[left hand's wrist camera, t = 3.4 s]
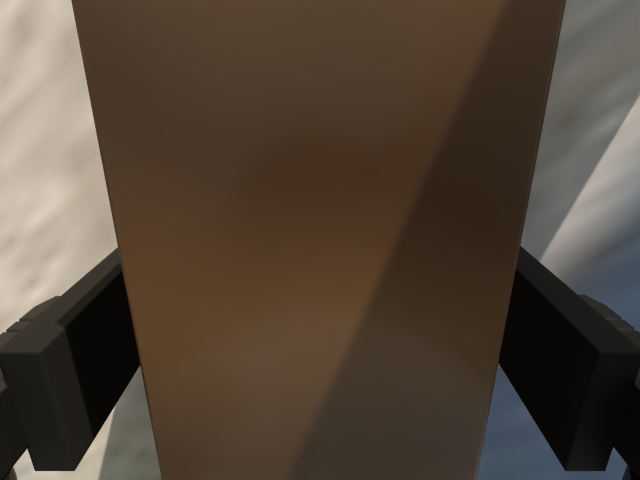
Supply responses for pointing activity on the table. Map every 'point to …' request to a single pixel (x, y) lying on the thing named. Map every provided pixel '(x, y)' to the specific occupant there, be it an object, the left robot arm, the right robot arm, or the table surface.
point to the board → (318, 222)
